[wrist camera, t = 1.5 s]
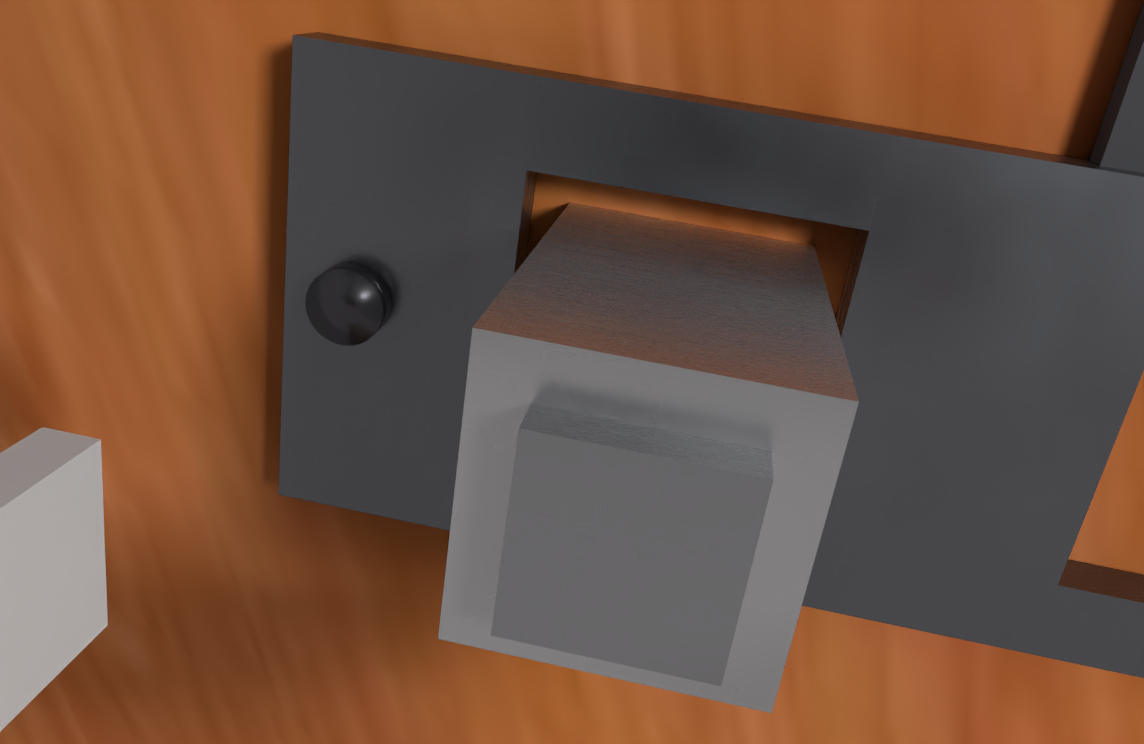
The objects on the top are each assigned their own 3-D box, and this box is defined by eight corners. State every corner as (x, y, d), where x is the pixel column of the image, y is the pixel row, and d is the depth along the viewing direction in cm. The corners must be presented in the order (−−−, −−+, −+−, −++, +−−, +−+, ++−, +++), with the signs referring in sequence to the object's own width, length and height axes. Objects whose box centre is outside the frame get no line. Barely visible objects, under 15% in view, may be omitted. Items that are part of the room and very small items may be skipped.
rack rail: (317, 32, 20) (279, 36, 18) (1858, 288, 17) (1979, 320, 15) (300, 470, 23) (267, 507, 22) (1555, 732, 21) (1625, 797, 19)
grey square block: (570, 201, 20) (456, 348, 12) (814, 246, 20) (865, 428, 12) (538, 420, 22) (421, 673, 14) (760, 464, 22) (773, 752, 14)
